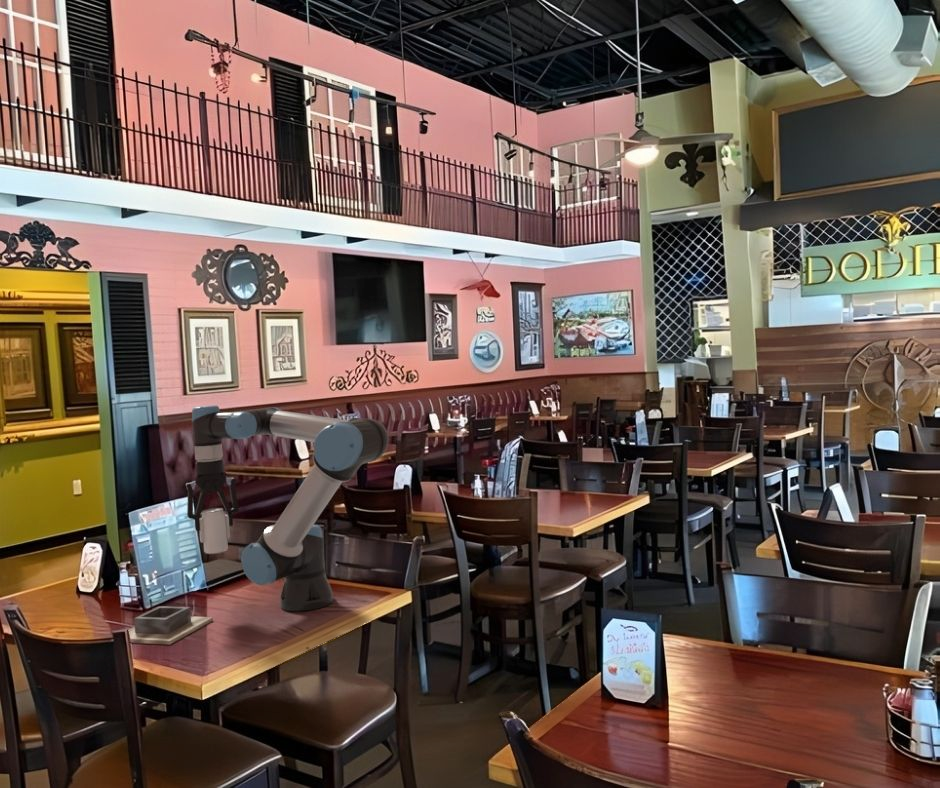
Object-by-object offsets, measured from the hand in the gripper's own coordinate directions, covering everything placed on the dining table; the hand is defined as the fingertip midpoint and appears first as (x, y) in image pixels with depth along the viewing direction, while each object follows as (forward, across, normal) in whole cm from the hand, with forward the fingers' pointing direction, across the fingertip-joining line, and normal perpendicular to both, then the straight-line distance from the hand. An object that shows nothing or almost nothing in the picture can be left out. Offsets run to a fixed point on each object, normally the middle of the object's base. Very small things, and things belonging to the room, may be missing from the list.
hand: (215, 539), depth 220 cm
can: (+4, 0, 0) cm, 4 cm away
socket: (+21, +16, +7) cm, 27 cm away
